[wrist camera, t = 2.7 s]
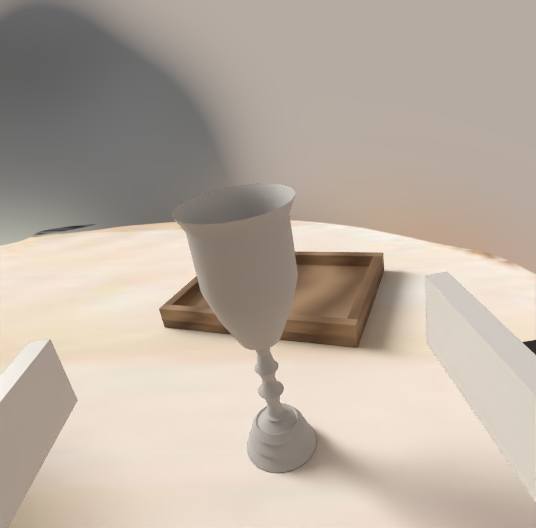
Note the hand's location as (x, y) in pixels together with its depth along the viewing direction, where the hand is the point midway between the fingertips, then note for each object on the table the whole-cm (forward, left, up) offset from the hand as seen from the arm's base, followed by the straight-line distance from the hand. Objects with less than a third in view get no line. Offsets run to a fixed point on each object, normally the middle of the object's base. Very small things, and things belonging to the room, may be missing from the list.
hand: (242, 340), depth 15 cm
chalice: (-4, +9, -16) cm, 19 cm away
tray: (-12, +29, -16) cm, 35 cm away
